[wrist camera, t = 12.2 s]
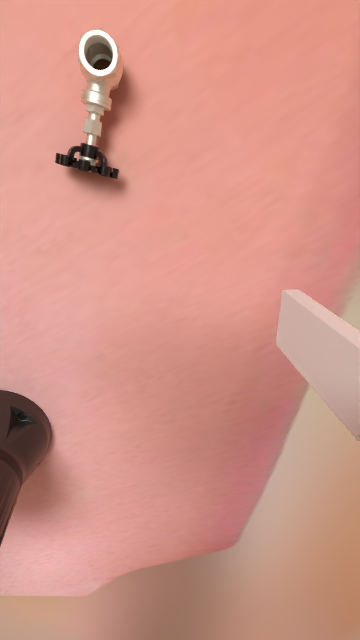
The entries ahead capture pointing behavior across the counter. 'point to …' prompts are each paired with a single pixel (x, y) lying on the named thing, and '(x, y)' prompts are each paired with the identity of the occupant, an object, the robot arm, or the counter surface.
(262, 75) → the counter surface
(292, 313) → the robot arm
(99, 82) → the valve
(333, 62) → the counter surface
